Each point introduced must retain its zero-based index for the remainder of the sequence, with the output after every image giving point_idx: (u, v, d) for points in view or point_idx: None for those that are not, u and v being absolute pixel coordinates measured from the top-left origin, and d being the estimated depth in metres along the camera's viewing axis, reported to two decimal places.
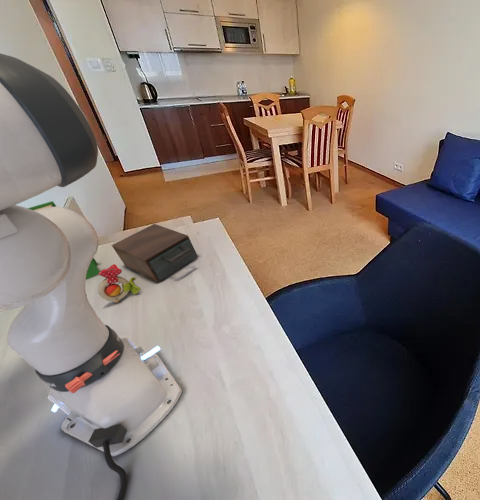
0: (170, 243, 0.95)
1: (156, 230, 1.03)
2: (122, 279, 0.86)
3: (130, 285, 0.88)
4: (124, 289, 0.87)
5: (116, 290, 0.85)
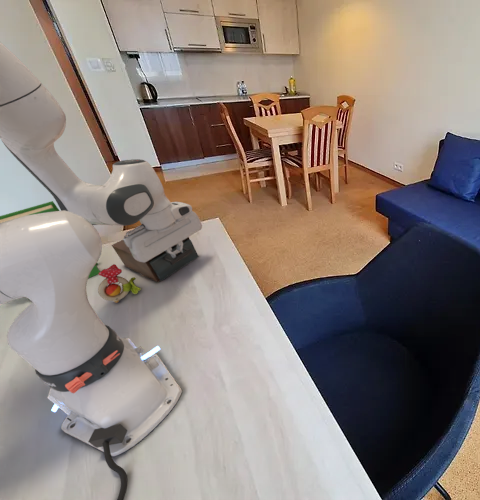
0: None
1: None
2: (122, 279, 0.86)
3: (130, 285, 0.88)
4: (124, 289, 0.87)
5: (116, 290, 0.85)
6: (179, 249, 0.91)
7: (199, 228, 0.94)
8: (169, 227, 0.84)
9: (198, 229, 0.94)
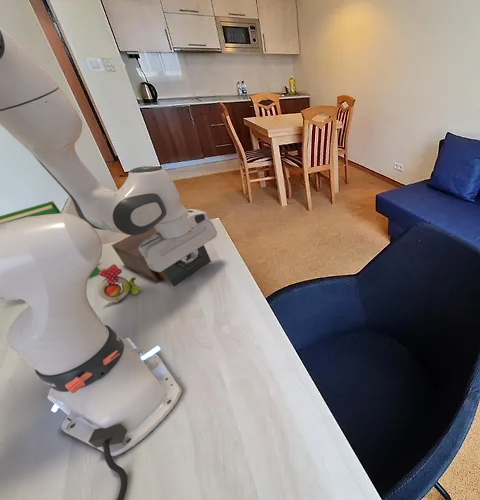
0: None
1: None
2: (122, 279, 0.86)
3: (130, 285, 0.88)
4: (124, 289, 0.87)
5: (116, 290, 0.85)
6: (194, 257, 0.89)
7: (214, 236, 0.92)
8: (185, 235, 0.82)
9: (213, 237, 0.91)
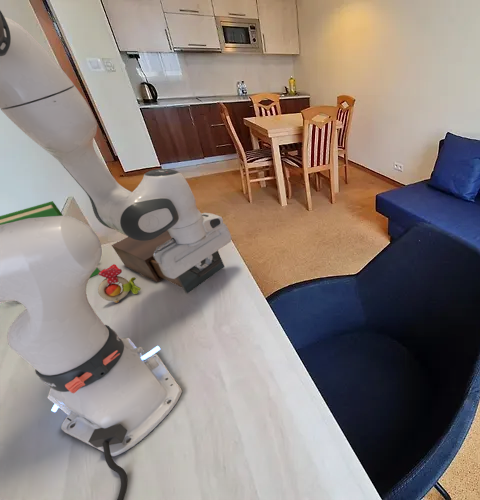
0: None
1: None
2: (122, 279, 0.86)
3: (130, 285, 0.88)
4: (124, 289, 0.87)
5: (116, 290, 0.85)
6: (208, 263, 0.86)
7: (229, 240, 0.89)
8: (200, 241, 0.79)
9: (228, 241, 0.88)
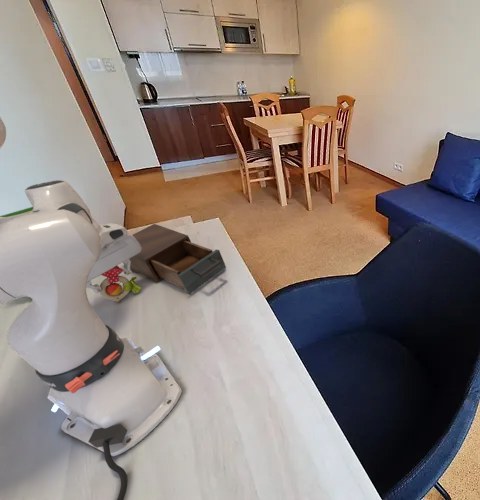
0: (170, 243, 0.95)
1: (156, 230, 1.03)
2: (123, 278, 0.86)
3: (131, 284, 0.88)
4: (125, 288, 0.87)
5: (117, 289, 0.85)
6: (126, 267, 0.87)
7: (138, 251, 0.87)
8: None
9: (137, 252, 0.87)
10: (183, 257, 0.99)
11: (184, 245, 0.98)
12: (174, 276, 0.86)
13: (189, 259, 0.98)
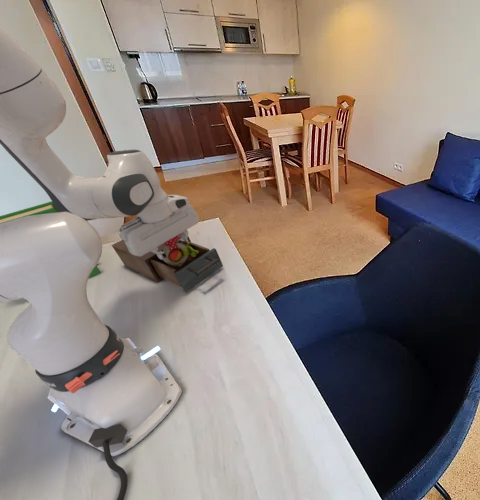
0: None
1: None
2: (181, 245, 0.91)
3: (188, 249, 0.93)
4: (184, 254, 0.92)
5: (178, 255, 0.90)
6: (184, 238, 0.91)
7: (196, 222, 0.92)
8: (166, 220, 0.82)
9: (195, 223, 0.92)
10: None
11: None
12: (171, 275, 0.87)
13: None
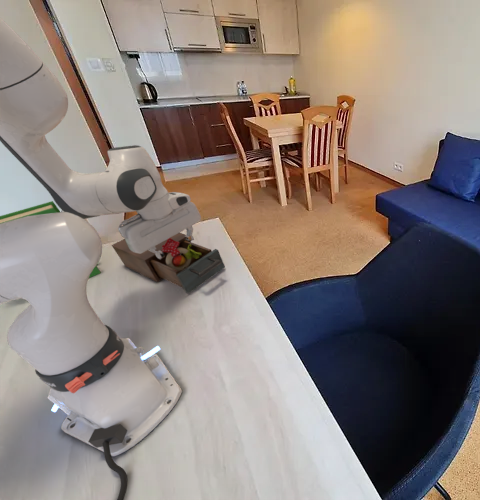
0: None
1: None
2: (182, 249, 0.90)
3: (190, 252, 0.92)
4: (187, 257, 0.92)
5: (182, 261, 0.90)
6: (189, 234, 0.91)
7: (198, 220, 0.91)
8: (166, 217, 0.81)
9: (197, 221, 0.91)
10: None
11: (183, 245, 0.99)
12: (173, 276, 0.86)
13: None
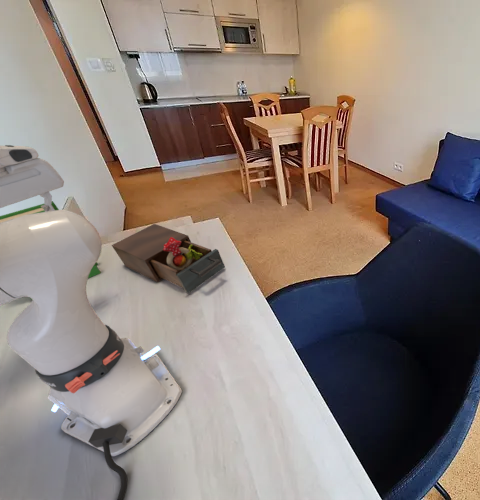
0: None
1: (156, 230, 1.03)
2: (184, 249, 0.90)
3: (191, 253, 0.93)
4: (188, 257, 0.92)
5: (182, 260, 0.90)
6: (46, 203, 0.70)
7: (58, 184, 0.70)
8: None
9: (56, 186, 0.69)
10: None
11: (183, 245, 0.99)
12: (173, 276, 0.86)
13: None
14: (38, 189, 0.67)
